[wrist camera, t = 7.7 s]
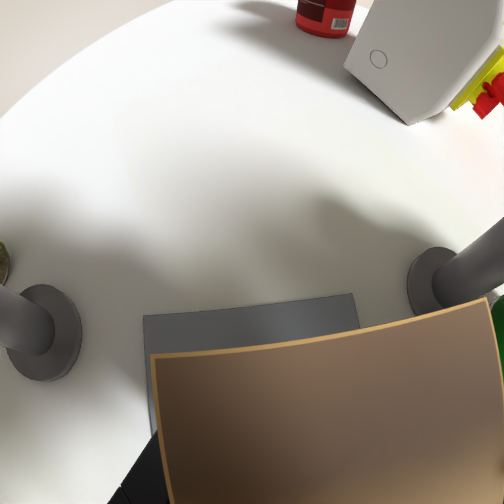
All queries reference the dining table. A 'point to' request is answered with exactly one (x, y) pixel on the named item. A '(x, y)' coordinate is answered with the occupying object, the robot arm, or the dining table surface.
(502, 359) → the soda can
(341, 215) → the dining table surface
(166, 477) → the tall wooden block
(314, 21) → the canned food
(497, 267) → the post
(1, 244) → the lime
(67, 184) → the dining table surface
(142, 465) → the robot arm
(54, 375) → the post
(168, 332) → the mat
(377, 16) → the electrical switch box
